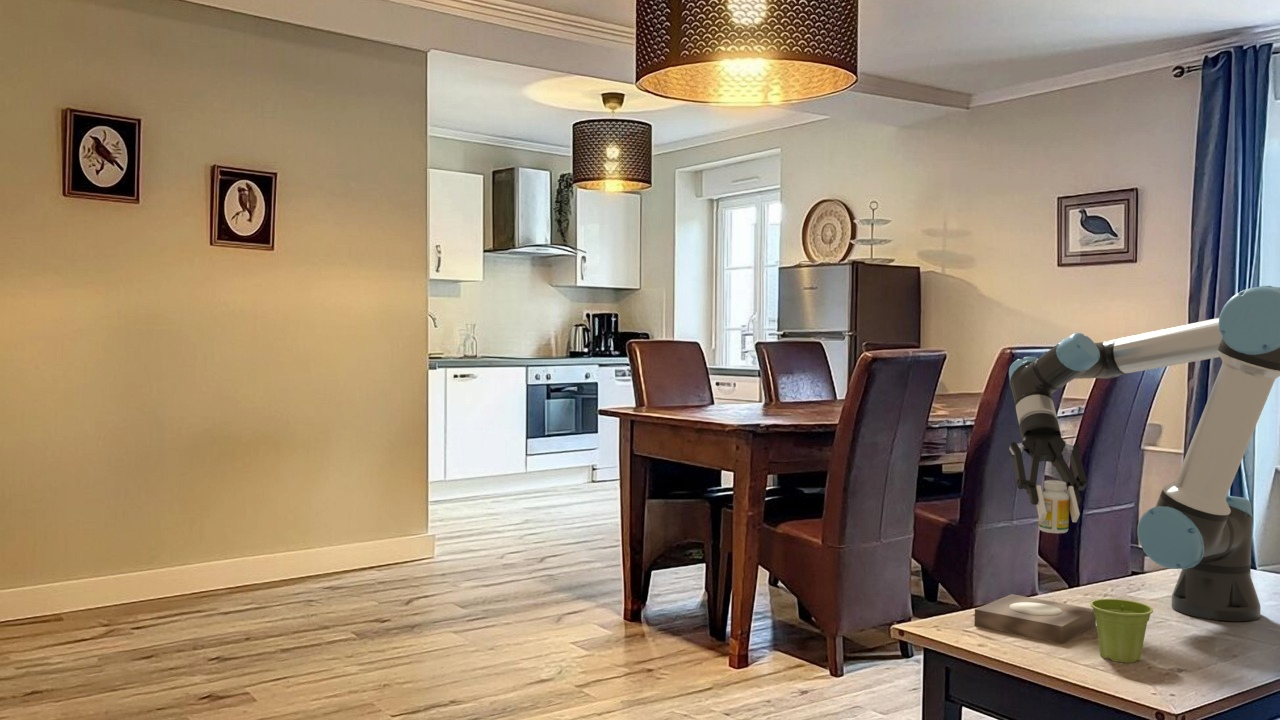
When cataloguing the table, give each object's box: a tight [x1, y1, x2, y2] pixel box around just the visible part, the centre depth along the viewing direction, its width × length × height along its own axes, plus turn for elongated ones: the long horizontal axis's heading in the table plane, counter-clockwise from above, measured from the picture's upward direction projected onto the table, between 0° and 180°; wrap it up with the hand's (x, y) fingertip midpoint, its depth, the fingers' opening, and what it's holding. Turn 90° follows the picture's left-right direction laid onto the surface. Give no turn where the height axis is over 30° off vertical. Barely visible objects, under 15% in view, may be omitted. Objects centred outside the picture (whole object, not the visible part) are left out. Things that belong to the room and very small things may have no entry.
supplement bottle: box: [1038, 479, 1070, 534], centre depth 199 cm, size 5×5×10 cm
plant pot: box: [1089, 598, 1154, 664], centre depth 170 cm, size 9×9×9 cm
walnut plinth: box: [974, 593, 1097, 645], centre depth 189 cm, size 16×16×3 cm
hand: (1059, 517), depth 195 cm, fingers closed on supplement bottle, 5 cm apart
